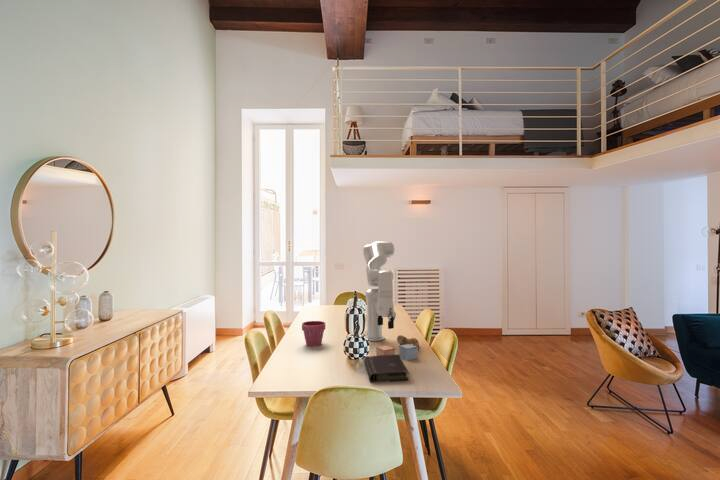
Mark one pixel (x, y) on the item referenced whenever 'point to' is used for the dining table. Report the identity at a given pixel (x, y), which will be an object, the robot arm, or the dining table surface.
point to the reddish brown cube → (385, 350)
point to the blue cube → (408, 352)
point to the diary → (386, 368)
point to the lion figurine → (407, 341)
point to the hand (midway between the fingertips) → (385, 326)
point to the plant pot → (313, 332)
